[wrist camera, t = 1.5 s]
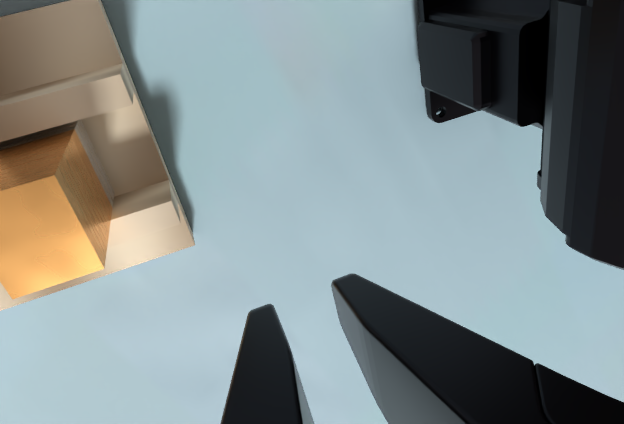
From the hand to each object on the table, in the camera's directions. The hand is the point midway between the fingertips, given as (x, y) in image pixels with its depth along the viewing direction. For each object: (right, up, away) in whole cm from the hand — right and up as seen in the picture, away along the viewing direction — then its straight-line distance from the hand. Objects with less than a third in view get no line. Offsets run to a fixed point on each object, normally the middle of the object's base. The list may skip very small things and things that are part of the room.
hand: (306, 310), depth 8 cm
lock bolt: (-11, +2, +9) cm, 14 cm away
